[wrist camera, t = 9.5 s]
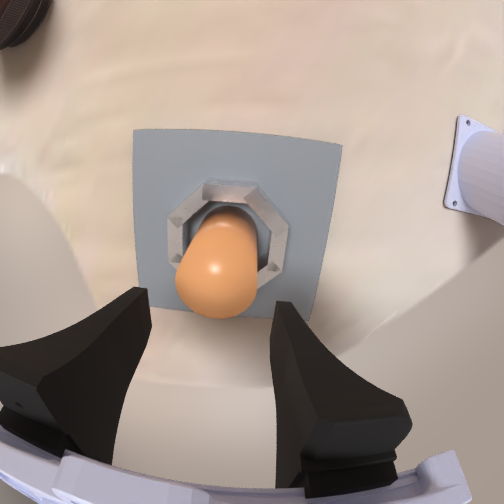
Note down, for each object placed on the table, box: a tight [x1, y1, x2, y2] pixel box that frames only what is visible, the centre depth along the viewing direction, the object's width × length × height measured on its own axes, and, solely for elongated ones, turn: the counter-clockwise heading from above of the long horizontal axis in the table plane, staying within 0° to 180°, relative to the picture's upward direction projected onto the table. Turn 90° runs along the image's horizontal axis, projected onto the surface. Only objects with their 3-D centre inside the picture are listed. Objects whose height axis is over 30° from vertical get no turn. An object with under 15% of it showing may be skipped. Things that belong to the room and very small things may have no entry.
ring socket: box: [167, 178, 289, 289], centre depth 19 cm, size 8×8×2 cm
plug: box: [175, 205, 257, 319], centre depth 17 cm, size 4×4×7 cm
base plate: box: [133, 129, 342, 321], centre depth 21 cm, size 14×14×1 cm
